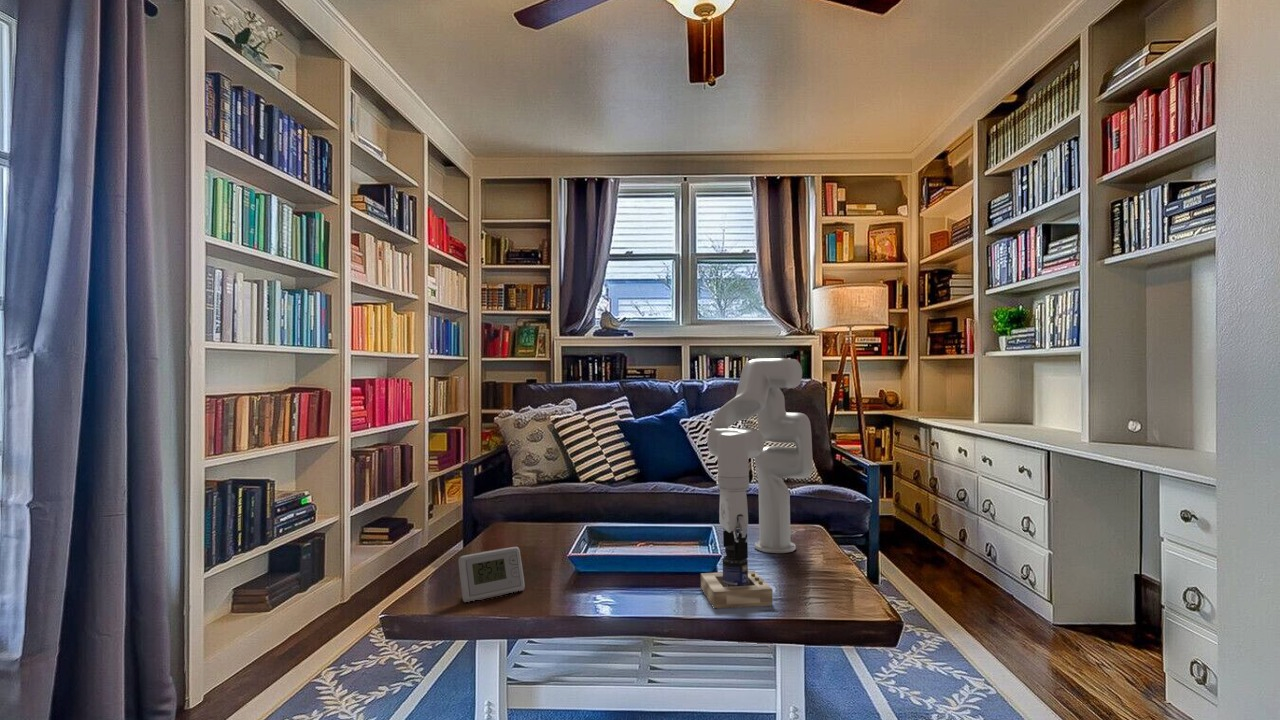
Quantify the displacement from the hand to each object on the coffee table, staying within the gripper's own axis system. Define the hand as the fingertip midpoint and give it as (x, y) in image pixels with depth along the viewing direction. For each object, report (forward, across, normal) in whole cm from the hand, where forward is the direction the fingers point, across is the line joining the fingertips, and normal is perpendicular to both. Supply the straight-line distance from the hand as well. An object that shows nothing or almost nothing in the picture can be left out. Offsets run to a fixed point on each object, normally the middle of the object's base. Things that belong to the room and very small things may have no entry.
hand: (735, 552), depth 152 cm
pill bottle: (+10, +1, 0) cm, 10 cm away
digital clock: (+10, -10, -60) cm, 61 cm away
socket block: (+10, +1, 0) cm, 10 cm away
